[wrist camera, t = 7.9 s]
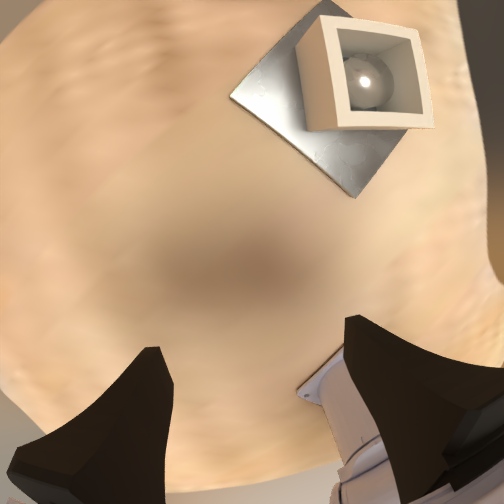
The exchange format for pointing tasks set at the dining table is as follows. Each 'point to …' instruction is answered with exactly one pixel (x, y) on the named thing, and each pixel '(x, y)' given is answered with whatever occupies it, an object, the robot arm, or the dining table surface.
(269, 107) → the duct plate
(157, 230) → the dining table surface
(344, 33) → the collar
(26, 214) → the dining table surface
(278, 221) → the dining table surface
